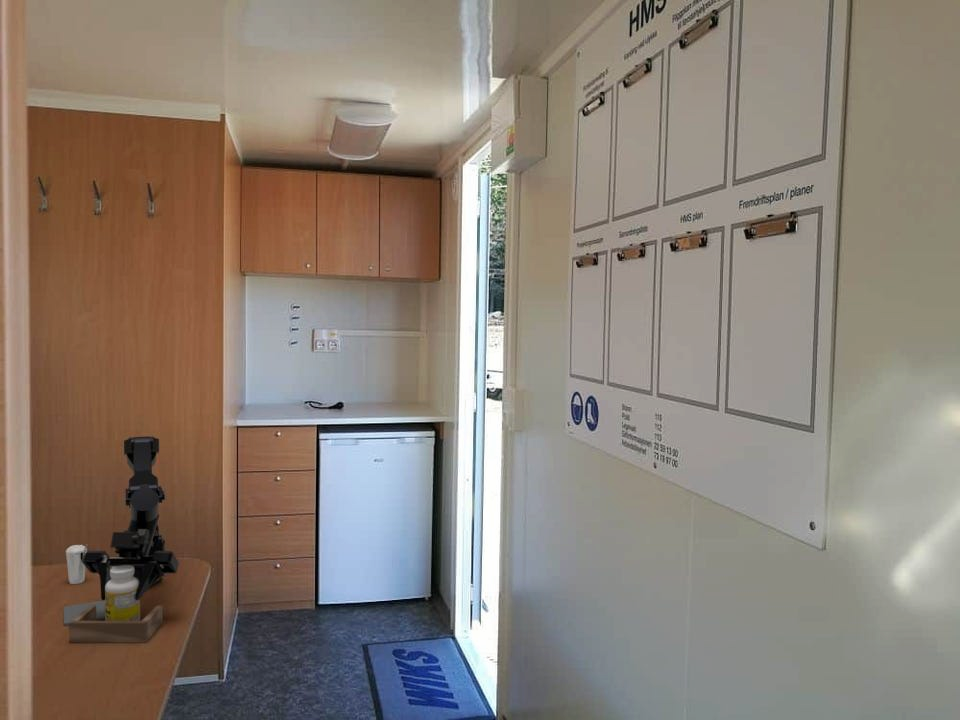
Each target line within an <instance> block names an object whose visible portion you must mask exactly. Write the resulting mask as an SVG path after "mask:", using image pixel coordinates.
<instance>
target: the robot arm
mask: <svg viewBox="0 0 960 720" xmlns="http://www.w3.org/2000/svg"><path fill="white" fill-rule="evenodd" d="M157 454H160V439H159V438H156V437H154V436H149V435H148V436H146V435H144V436H133V437H128V438H127V439H124V440H123V456H126V464H127V466H128V467H129V468H130V469H131V471H132V472H133V475H132V476H131V477H129V479H128V488H125V507H126V506H128V508H129V509H130V512H129V515H130V520H129V524H128V527H127V529H126V530H124V531H120V532H119V531H115V532H114V531H113V532H112V536H111V541H110V542H111V543H110V548H111V549H113V548H115V549H114V553H116V554H117V555H118V556H109V555H108V553H107V552H106V550H87V553H86V554H85V555H84V557H83V560H82V563H83V564H84V565H85V569H87V570H88V572H89V573H91V574H98V575H99V580H100V581H99V582H100V583H99V584H100V599H101V601H104V600H105V586H106V584H107V582H109V581H110V580H111V576H110V570H111V569H112V568H114V567H117V566H121V565H131V566H134V575H133V577H136V578H137V579H138V580H139V586H138V589H137V592H136V596H135V599H136V600H139V599H141V598H142V596H143V595H144V594H145V593H146V592H147V591H148V590H149V588H152V587H153V586H155V584H158V583H159V582H160V581H161V580H163V577H165V575H166V574H176V573H177V572H178V568H179V561H178V558H177V557H176V555H175V553H174V552H173V551H172V550H165V548H166V547H165V545H166V544H165V543H166V542H165V541H166V540H165V539H164V537H163V536H162V534H159V533H160V531H159V528H160V527H159V525H158V523H159V520H160V514H159V504H161V503H163V501H165V500H166V497H165V495H166V494H165V491H164V490H163V488H162V486H161V485H159V477H157V476H156V475H155V474H153V467H154V466H155V463H156V462H157Z"/></svg>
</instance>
